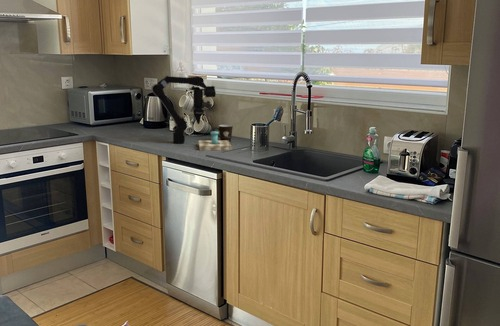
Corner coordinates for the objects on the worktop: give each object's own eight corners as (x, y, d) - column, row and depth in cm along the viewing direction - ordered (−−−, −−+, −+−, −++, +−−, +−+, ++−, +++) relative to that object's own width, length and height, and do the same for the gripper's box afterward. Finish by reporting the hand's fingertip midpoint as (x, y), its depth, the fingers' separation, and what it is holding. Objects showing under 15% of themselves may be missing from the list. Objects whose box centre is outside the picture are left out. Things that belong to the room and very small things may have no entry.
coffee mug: (234, 140, 316) (234, 125, 314) (229, 143, 308) (229, 127, 306) (217, 139, 320) (217, 123, 318) (212, 141, 312) (212, 125, 310)
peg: (210, 148, 291) (210, 132, 289) (210, 146, 296) (210, 131, 294) (218, 148, 292) (219, 132, 290) (218, 146, 296) (218, 131, 294)
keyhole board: (199, 150, 284) (199, 146, 283) (198, 144, 301) (198, 140, 300) (231, 150, 286) (231, 145, 286) (228, 144, 304) (228, 140, 303)
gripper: (212, 98, 295) (212, 125, 298) (210, 96, 313) (210, 120, 316) (193, 98, 293) (193, 125, 297) (192, 95, 311) (192, 120, 315)
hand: (198, 122), depth 306 cm, fingers open, 9 cm apart
